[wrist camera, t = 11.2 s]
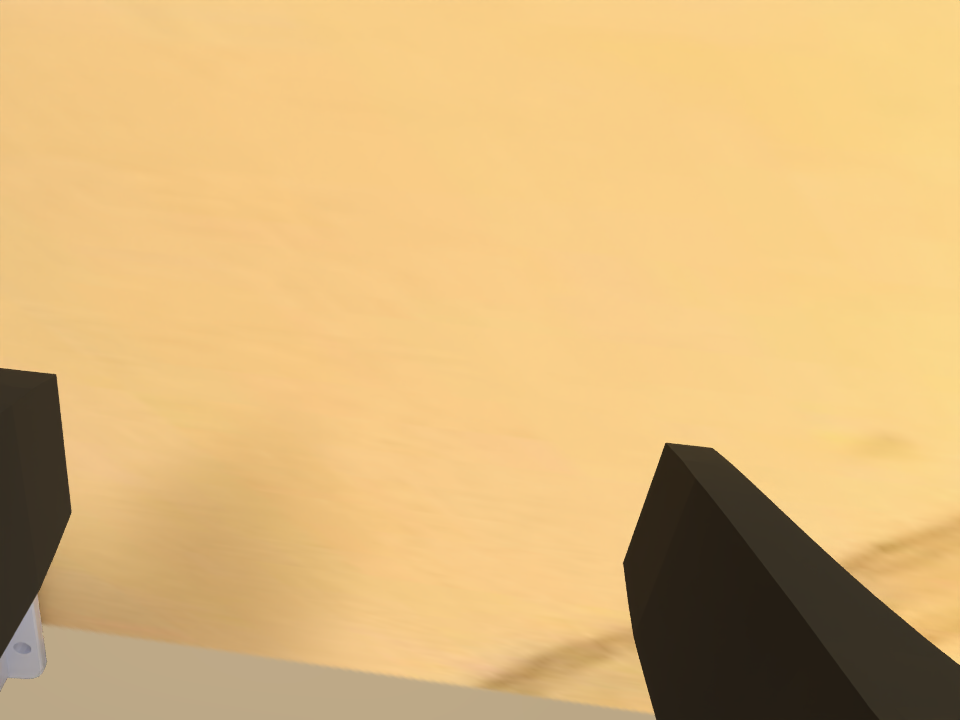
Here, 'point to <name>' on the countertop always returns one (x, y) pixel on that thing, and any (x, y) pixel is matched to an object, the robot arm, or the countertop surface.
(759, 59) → the countertop surface
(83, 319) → the countertop surface
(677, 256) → the countertop surface
